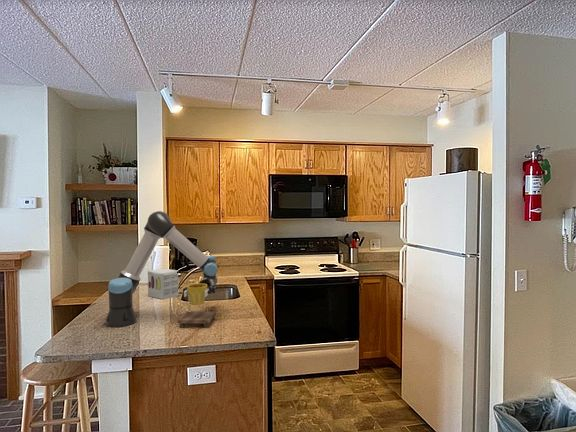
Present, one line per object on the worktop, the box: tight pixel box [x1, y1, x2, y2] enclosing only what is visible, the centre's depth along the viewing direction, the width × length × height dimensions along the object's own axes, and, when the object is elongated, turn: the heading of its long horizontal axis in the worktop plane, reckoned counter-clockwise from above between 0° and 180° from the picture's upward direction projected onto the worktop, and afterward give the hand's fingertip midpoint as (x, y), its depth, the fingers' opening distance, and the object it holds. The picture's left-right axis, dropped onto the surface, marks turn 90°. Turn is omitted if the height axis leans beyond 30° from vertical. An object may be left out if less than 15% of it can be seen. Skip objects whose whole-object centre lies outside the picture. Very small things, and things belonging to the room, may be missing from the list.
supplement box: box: [147, 267, 179, 301], centre depth 266 cm, size 17×13×18 cm
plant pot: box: [186, 282, 207, 306], centre depth 204 cm, size 10×10×10 cm
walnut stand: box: [177, 310, 217, 328], centre depth 204 cm, size 16×16×4 cm
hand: (195, 294), depth 199 cm, fingers closed on plant pot, 10 cm apart
